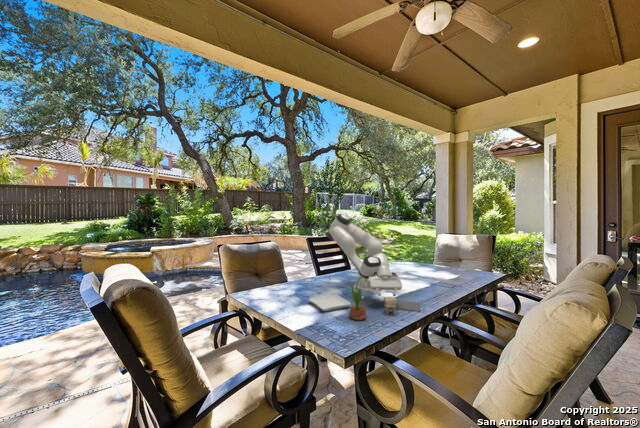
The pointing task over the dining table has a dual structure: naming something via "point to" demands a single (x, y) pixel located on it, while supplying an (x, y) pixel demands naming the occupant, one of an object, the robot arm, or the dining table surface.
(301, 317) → the dining table surface
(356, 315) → the potted flower
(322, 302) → the salad plate
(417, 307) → the grey-brown square panel
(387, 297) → the birch stool
